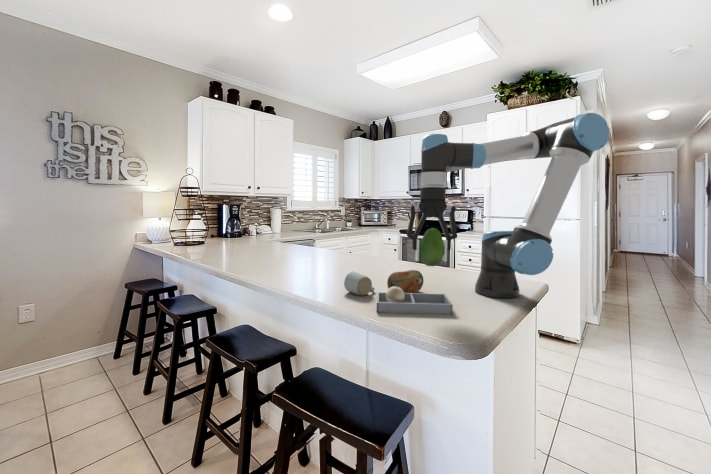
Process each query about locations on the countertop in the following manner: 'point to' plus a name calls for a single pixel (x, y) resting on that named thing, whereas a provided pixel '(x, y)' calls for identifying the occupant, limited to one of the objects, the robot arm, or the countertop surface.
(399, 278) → the tin
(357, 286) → the ceramic mug
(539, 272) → the robot arm
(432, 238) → the avocado
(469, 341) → the countertop surface
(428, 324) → the countertop surface
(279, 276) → the countertop surface
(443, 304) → the grey divided tray
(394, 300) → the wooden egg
